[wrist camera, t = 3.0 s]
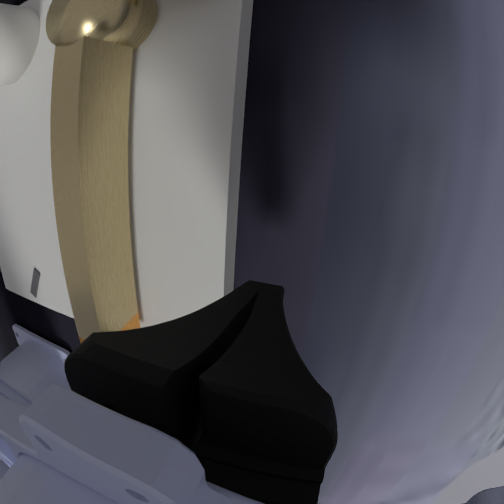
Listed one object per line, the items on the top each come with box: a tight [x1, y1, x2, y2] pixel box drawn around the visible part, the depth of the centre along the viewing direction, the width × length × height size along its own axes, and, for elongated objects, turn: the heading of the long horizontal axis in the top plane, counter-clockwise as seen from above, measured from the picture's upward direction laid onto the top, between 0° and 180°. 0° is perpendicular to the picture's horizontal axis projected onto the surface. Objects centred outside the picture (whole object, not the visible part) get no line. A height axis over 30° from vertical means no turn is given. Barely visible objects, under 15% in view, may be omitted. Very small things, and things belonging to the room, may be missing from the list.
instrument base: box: [0, 0, 253, 328], centre depth 12 cm, size 20×18×6 cm
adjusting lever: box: [46, 0, 157, 343], centre depth 11 cm, size 17×3×3 cm, turn 176°
